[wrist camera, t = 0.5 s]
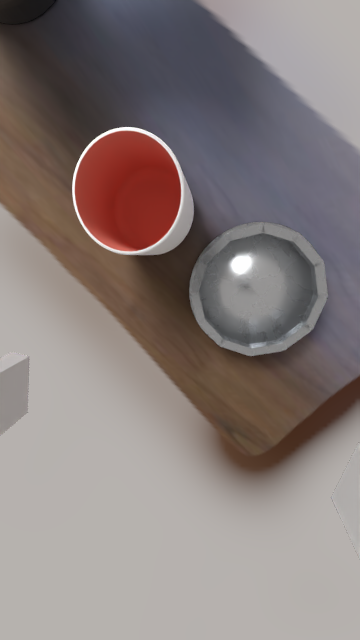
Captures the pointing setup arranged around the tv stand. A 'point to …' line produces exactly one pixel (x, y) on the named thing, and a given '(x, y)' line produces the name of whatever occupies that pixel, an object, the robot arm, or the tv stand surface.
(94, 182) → the cup
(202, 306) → the faceted steel dish
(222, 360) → the tv stand surface
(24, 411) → the robot arm
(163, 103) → the tv stand surface
